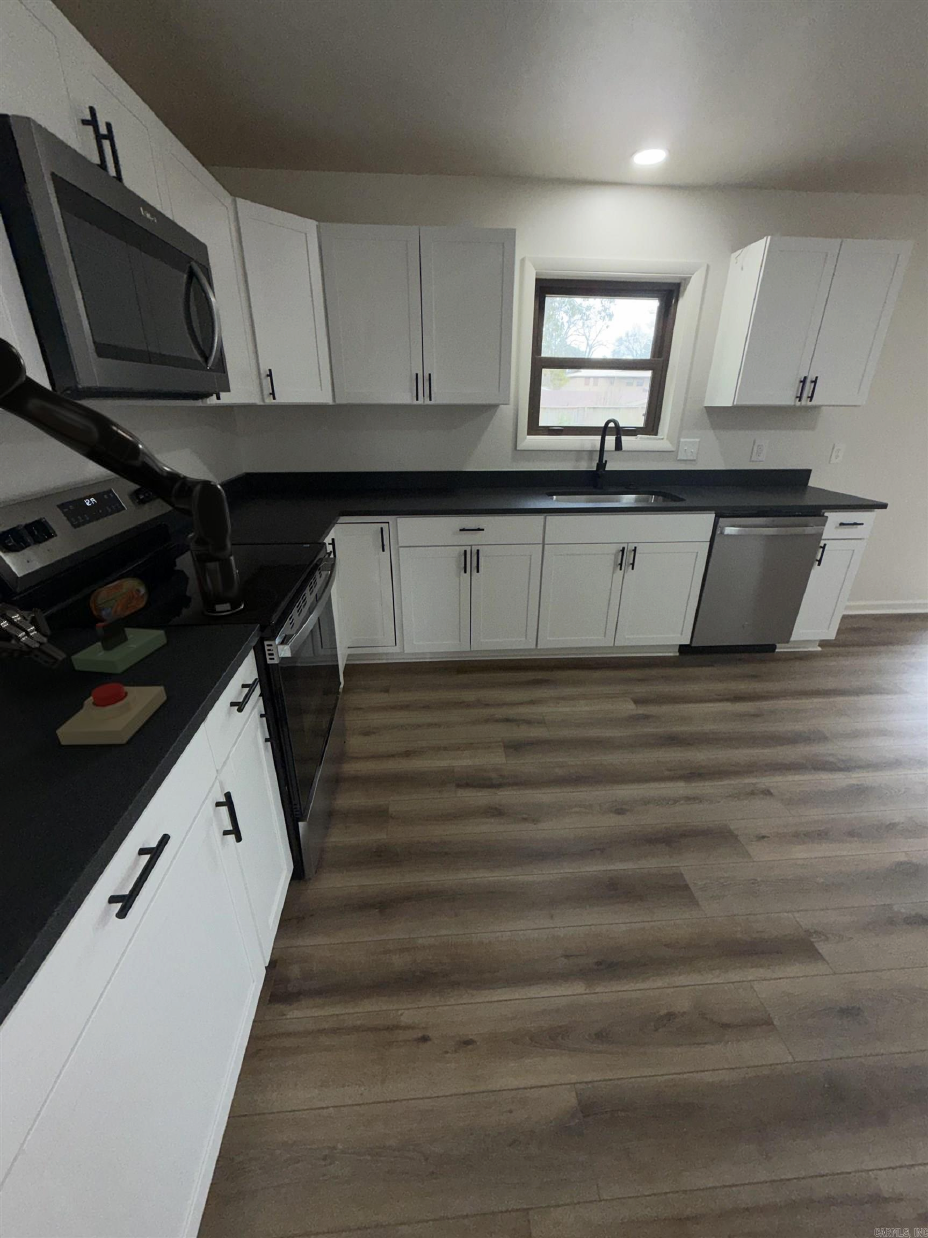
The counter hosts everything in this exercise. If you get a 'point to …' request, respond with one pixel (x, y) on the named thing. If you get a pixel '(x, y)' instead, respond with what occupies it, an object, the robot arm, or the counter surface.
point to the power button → (108, 694)
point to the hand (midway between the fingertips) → (61, 663)
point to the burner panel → (120, 652)
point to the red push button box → (112, 718)
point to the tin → (119, 598)
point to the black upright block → (111, 633)
